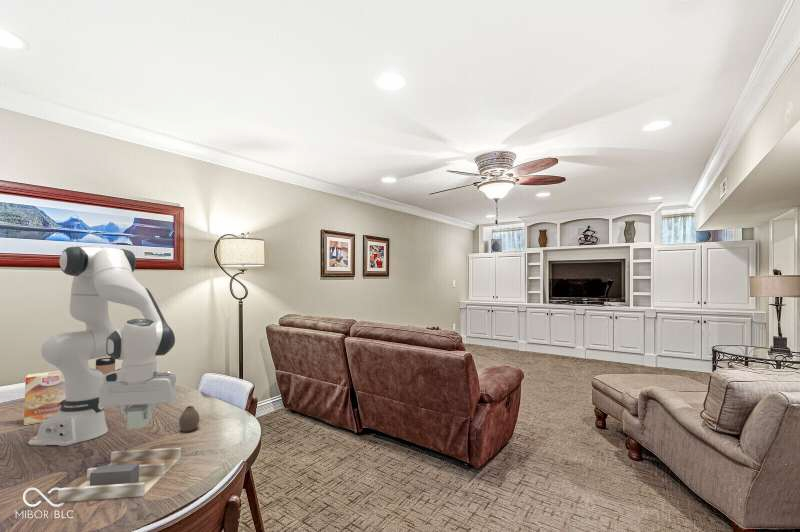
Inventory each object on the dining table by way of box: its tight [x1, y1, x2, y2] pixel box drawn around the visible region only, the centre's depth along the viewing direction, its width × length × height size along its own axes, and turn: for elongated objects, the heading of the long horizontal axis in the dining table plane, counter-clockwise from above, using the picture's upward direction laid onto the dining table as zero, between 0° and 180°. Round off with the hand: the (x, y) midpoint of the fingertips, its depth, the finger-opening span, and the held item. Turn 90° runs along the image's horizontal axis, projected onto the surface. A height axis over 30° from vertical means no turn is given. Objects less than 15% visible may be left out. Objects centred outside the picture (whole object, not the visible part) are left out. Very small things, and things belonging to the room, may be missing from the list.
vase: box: [178, 405, 200, 433], centre depth 144 cm, size 7×7×9 cm
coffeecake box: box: [23, 370, 66, 426], centre depth 156 cm, size 15×7×20 cm, turn 131°
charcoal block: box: [90, 464, 139, 486], centre depth 102 cm, size 10×4×5 cm, turn 97°
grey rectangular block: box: [126, 404, 150, 430], centre depth 113 cm, size 4×4×6 cm
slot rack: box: [57, 447, 182, 503], centre depth 107 cm, size 20×22×4 cm
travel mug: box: [95, 356, 116, 383], centre depth 182 cm, size 8×8×20 cm
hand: (138, 418), depth 113 cm, fingers closed on grey rectangular block, 4 cm apart
